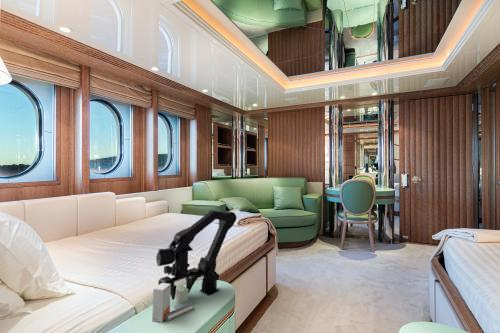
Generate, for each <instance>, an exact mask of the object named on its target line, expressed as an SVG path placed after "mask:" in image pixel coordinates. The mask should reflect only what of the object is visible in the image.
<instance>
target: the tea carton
mask: <svg viewBox="0 0 500 333" xmlns="http://www.w3.org/2000/svg"><path fill="white" fill-rule="evenodd" d="M175 286H176V294H175V300H176V301H175V300H174V301H175V302H177V301H178V302H177V303H178V304H180V303H182V302H185V301H187V300H188V301H189V294H188V288H186V286H184V285H183V284H179V285H175Z"/></svg>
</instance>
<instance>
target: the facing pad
mask: <svg viewBox="0 0 500 333" xmlns="http://www.w3.org/2000/svg"><path fill="white" fill-rule="evenodd" d="M190 303H193V302H192V301H190V300H189V299H188V300H187V301H185V302H182V303H178V304H176V305H173V308H175V310H176V309H178V308H180V307H183V306H185V305H187V304H190ZM194 306H195V303H194Z"/></svg>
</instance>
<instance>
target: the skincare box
mask: <svg viewBox="0 0 500 333" xmlns="http://www.w3.org/2000/svg"><path fill="white" fill-rule="evenodd" d="M170 293H171V284H167V283H161V284H160V285H157V286H156V287H155V288H153V292H152V316H151V317H152V318H151V320H152V322H158V323H162V322H164V320H165V314H167V313H169V312H171V295H170Z"/></svg>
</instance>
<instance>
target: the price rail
mask: <svg viewBox="0 0 500 333" xmlns="http://www.w3.org/2000/svg"><path fill="white" fill-rule="evenodd" d="M194 304H195V303H193V302H192V303H190V304H187V305H185V306H183V307H180V308H178V309H176V308H175V309H174V310H170V312H169V313H167V314H165V319H164V320H165V321H166V322H169V321H171V320H174V319H176V318H178V317H180V316H182V315H185V314H186V313H188V312H191V311H193V310H194V306H195V305H194Z"/></svg>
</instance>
